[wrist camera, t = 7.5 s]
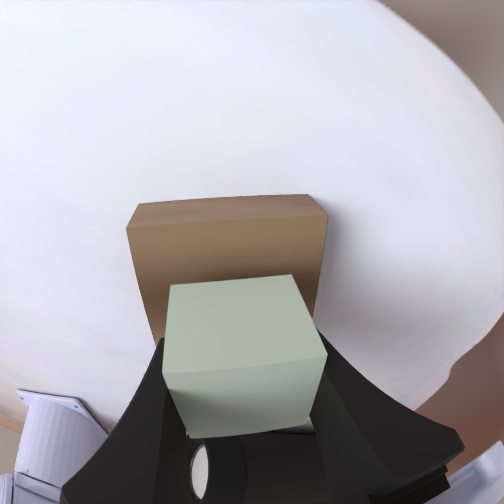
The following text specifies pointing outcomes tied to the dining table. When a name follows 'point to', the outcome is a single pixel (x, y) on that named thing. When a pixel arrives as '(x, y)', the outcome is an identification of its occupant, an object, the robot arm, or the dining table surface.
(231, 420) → the sage cube
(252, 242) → the walnut block
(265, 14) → the dining table surface
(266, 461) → the portable speaker
